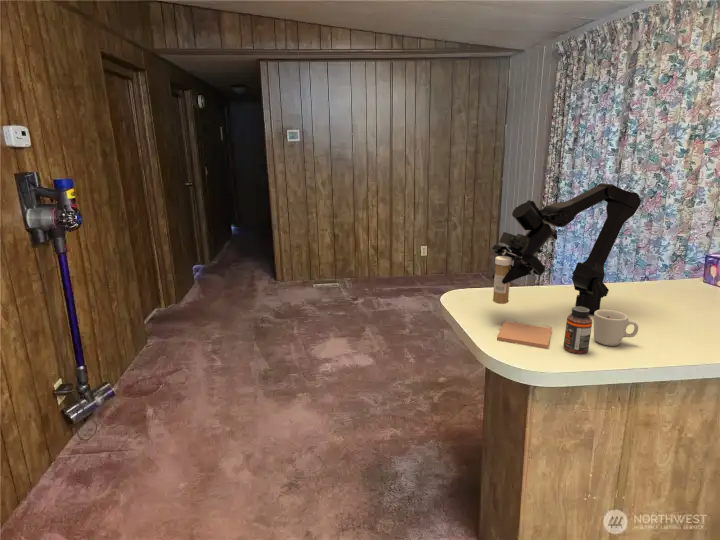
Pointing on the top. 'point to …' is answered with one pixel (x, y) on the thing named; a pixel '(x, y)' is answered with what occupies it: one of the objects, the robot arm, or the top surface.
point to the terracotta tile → (525, 334)
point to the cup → (612, 327)
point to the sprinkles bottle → (500, 272)
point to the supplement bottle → (578, 330)
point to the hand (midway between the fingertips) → (498, 280)
